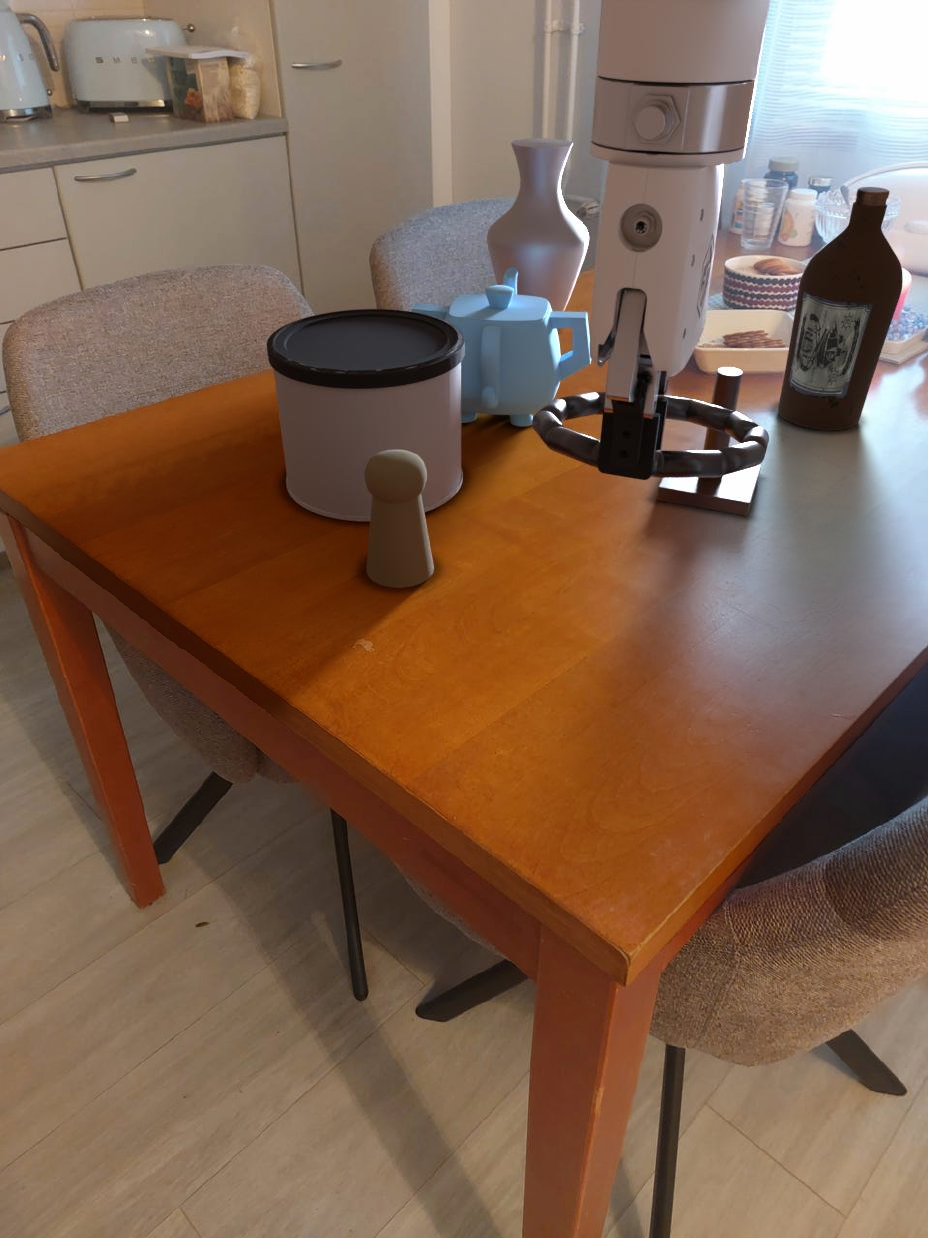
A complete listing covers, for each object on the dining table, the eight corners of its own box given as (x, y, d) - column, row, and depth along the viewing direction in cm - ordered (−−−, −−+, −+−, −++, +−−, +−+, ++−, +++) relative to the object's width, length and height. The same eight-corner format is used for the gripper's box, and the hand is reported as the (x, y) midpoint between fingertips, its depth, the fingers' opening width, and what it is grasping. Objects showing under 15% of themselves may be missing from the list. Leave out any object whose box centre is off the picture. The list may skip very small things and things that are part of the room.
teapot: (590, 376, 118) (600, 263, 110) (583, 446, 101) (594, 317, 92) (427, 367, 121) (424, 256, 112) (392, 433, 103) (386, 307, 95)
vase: (469, 321, 137) (470, 137, 122) (551, 309, 142) (562, 131, 127) (513, 350, 126) (519, 153, 111) (600, 336, 131) (617, 145, 116)
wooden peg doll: (447, 563, 80) (445, 451, 74) (408, 595, 76) (403, 479, 70) (392, 544, 83) (387, 435, 77) (352, 574, 79) (342, 461, 73)
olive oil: (790, 392, 114) (838, 176, 99) (875, 411, 109) (940, 187, 94) (758, 419, 107) (806, 191, 92) (848, 441, 102) (913, 204, 87)
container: (253, 470, 95) (232, 330, 87) (399, 427, 105) (393, 296, 96) (344, 543, 83) (331, 388, 75) (500, 486, 93) (505, 343, 84)
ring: (772, 430, 64) (777, 408, 63) (754, 497, 51) (760, 470, 51) (567, 400, 68) (569, 380, 68) (504, 455, 56) (506, 430, 55)
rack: (758, 477, 94) (783, 362, 87) (747, 516, 88) (773, 394, 80) (673, 463, 97) (691, 350, 90) (656, 499, 90) (673, 380, 83)
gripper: (726, 149, 36) (666, 540, 47) (766, 106, 48) (710, 426, 59) (549, 139, 38) (530, 514, 49) (629, 100, 50) (599, 410, 61)
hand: (628, 464), depth 54 cm, fingers closed on ring, 1 cm apart
